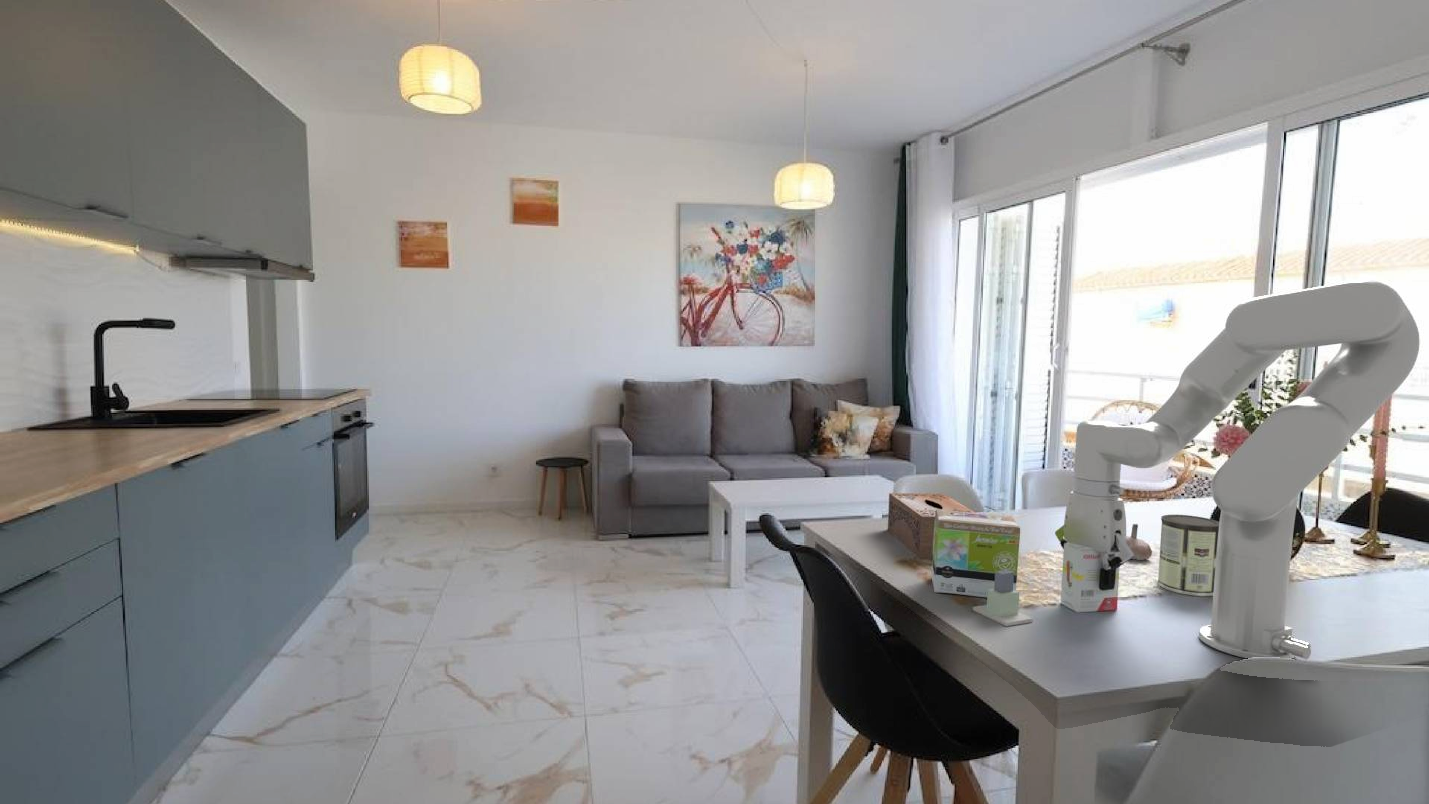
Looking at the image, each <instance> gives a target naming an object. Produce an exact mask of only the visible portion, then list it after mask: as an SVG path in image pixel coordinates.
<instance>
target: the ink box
mask: <svg viewBox="0 0 1429 804" xmlns="http://www.w3.org/2000/svg"><path fill="white" fill-rule="evenodd" d="M1115 550H1116V549H1115ZM1116 554H1117V556H1118V555H1119V554H1120V552H1116ZM1108 557H1109V555H1108ZM1109 560H1110V557H1109ZM1101 568H1104V567H1103V563H1102V560H1101V556H1100V553H1099V552H1095V551H1094V550H1093V549H1092V548H1089V547H1085V546H1081V545H1077V544H1073V543H1064V549H1063V556H1062V573H1061V574H1062V575H1061V586H1060V587H1061V593H1060V604H1061V605H1063V606H1065V607H1067V608H1068V609H1071V610H1072V611H1074V612H1076V613H1088V612H1089V613H1091V612H1105V611H1106V612H1107V611H1117V610H1118V603H1119V602H1118V599H1119V581H1120V580H1119V579H1120V578H1119V575H1120V567H1119V568H1117V569H1116V578H1115V586H1114V589H1111V590H1105V591H1102V590H1100V589H1099V580H1100V569H1101Z"/></svg>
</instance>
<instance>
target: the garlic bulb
mask: <svg viewBox="0 0 1429 804" xmlns="http://www.w3.org/2000/svg"><path fill="white" fill-rule="evenodd" d="M1138 529H1139V525H1138V523H1133V524H1132V529H1131V534H1130V536H1127V535H1126V543H1127V545H1128V546H1129V547H1130V549H1131V550H1132V552H1133V553H1134V555H1133V556H1132V557H1131V558H1130V559H1129V560H1135V559H1137V560H1136V561H1144V559H1146V560H1148V559H1150V558H1151V557H1152V555H1153V551H1152V548H1151V546H1150V545H1149V544H1148V543H1147V542H1146V541H1145V540H1143V539H1141V538H1137V537H1138Z"/></svg>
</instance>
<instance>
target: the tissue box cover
mask: <svg viewBox="0 0 1429 804" xmlns="http://www.w3.org/2000/svg"><path fill="white" fill-rule="evenodd" d="M936 510H947V511H959V512H971V513H977V512H976V511H974V510H972V509H971V508H969V507H967V506H965V505H964V504H963V503H960V501H959V502H958V501H957V500H955V499H954V498H952V497H950V496H948V495H947V494H945V493H910V492H907V493H906V492H905V493H904V492H900V493H898V492H895V493H894V492H889V494H888V514H887V515H888V517H887V518H888V519H887V531H889V530H890V531H891V532H890V531H889V532H890V533H891V534H892V533H893V534H894V535H895V536H896V537H897V538H896V537H895V536H894V535H893V534H892V535H893V536H894V537H895V538H896V539H898V541H899V542H900V543H902V544H903V546H905V547H906V548H908V550H910V551H911V553H913V554H914V555H915V556H916V557H918V559H920V560H932V554H933V539H934V524H935V512H936Z"/></svg>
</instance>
